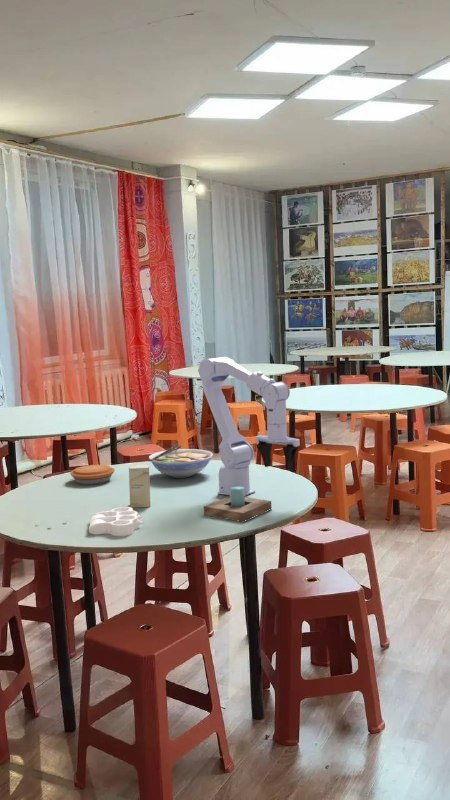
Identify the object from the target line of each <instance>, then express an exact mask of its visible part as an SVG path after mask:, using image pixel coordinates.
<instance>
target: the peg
mask: <svg viewBox="0 0 450 800" xmlns="http://www.w3.org/2000/svg"><path fill="white" fill-rule="evenodd" d="M230 489H231V506H234V507H239V508H240V507H243V506H245V497H246V496H245V493H244V487H232V488H230Z"/></svg>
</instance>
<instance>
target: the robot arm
mask: <svg viewBox="0 0 450 800" xmlns="http://www.w3.org/2000/svg"><path fill="white" fill-rule="evenodd" d="M197 373H198V375H199V377H200V380H201V382H202V390H203V393H204V396H205V398H206V400H207V403H208V406H209V409H210V411H211V414H212V417H213V420H214V421H215V424H216V427H217V429H218V431H219V434H220V436H221V438H222V440H221V442H220V444H219V446H218V449H219V453H220V460H221V463H222V465H221V467H220V468H219V469H218V492H217V494H220V495H224V496H225V495H226V496H231V489H230V488H232V487H244V493H245V497H247V496H248V495H250V494H254V493H255V492H256V490H255V489H250V486H251V485H250V465H251V462H252V461H253V459H254V456H255V455H254V454H255V453H254V449H253V447H252V445H251V444H250V443H249V442H248V440H247V439H248V438H246V436H243V435H242V434H240V433H239V430H238V429H237V425H236V423H235V420H234V418H233V416H232V413H231V411H230V408H229V406H228V402H227V400H226V398H225V395H224V392H223V391H222V388H223V385H224V384H225V382H226V381H227V380H228V379H229V377H232V378H235V379H237V380H239V381H240V382H243V383H245V384H246V387H247V388H248V390H251V391H252V392H254V393H256V394H258V395H259V396H261V397H262V398H263V401H264V403H265V408H266V423H267V435H262V434H261V435H256V436H255V443H257V444H256V448H257V450H258V451H259V453H260V456H261V457H262V461H263V464H264V465H263V466H264V467H265V468H268V467H271V466H272V465H271V463H272V458H271V456H272V448H273V447H272V446H273V444H274V445H283V447H282V451H283V455H284V463H285V470H286V471H289V470H291V469H292V468H293V463H294V459H295V457H296V454H297V452H298V450H299V446H300V445H301V443H300V441H301V439H299V438H295V437H289V436H288V433H287V431H288V427H287V426H288V425H287V400H288V399H289V397H290V393H291V392H290V388H289V386H288V385H287V383H285V381H278V382H277V381H275V380H276V379H274V378H270V377H268V376H266V375H264V372H262V371H253V372H251V371H249V370H248V369H246V368H244V367H243V366H241V365H240V364H238V363H236V362H235V361H234V359H232V358H229V357H227V356H220V357H213V358H203V359H202V360H201V361H200V362H199V365H198V370H197Z"/></svg>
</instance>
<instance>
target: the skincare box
mask: <svg viewBox="0 0 450 800" xmlns="http://www.w3.org/2000/svg"><path fill="white" fill-rule="evenodd" d="M150 481H151V480H150V464H138V465H137V464H136V465H128V484H129V488H128V489H129V507H131V508H133V509H134V508H150V507H151V486H150V485H151V484H150V483H151V482H150Z"/></svg>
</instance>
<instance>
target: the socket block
mask: <svg viewBox="0 0 450 800" xmlns="http://www.w3.org/2000/svg"><path fill="white" fill-rule="evenodd" d="M271 508H272V500H269V499H268V500H267V499H261V498H254V497H248V496H245V506H243V507H240V508H239V507H234V506H231V496H230V495H227V496H226V497H224V498H221V499H219V500H218V499H217V500H216V501H213V502H210V503H209V504H206V505H203V515H204V516H209V517H214V516H215V518H219V517H221V518H220V519H225V518H228V519H227V520H230V519H233V520H232V521H236V520H239V521H238V522H241V521H245V520H247V521H249V520H251V519H250V518H252V517H254V516H256V515H258V516H259V514H260V515H262V514H261V513H263V512H265V511H267V510H269V509H271ZM272 509H273V508H272ZM272 509H271V510H272ZM269 511H270V510H269ZM267 512H268V511H267ZM265 513H266V512H265ZM263 514H264V513H263ZM256 517H257V516H256ZM254 518H255V517H254ZM248 519H249V520H248ZM252 519H253V518H252ZM245 522H246V521H245Z"/></svg>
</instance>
